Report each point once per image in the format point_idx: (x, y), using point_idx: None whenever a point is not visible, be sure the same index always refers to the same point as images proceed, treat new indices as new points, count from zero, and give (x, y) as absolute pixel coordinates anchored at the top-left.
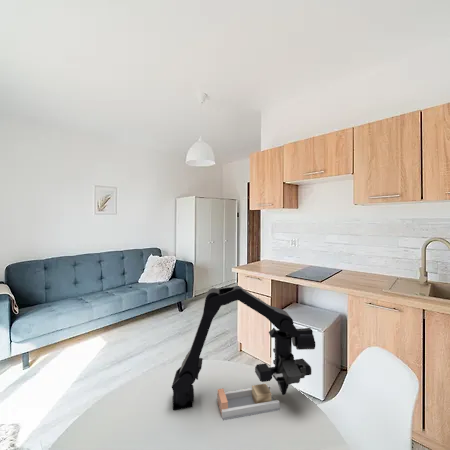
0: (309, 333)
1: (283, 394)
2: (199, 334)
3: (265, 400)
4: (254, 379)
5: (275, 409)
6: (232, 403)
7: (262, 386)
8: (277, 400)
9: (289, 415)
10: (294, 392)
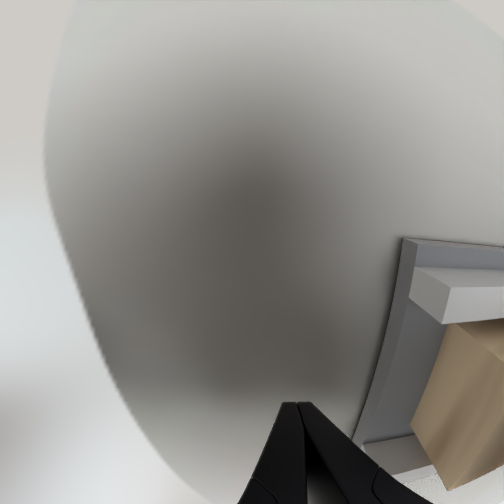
0: None
1: (304, 404)
2: None
3: None
4: None
5: (448, 264)
6: None
7: (496, 456)
8: (451, 317)
9: (333, 191)
10: (135, 414)
